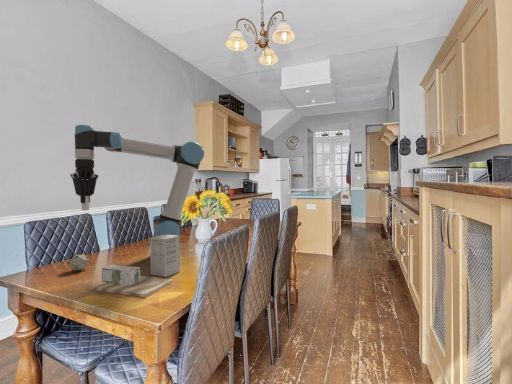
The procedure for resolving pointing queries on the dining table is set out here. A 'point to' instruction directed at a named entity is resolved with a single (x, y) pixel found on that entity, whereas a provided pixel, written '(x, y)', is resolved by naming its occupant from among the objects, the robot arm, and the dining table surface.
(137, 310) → the dining table surface
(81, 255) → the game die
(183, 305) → the dining table surface
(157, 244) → the supplement box
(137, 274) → the syrup box
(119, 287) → the cutting board
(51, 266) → the dining table surface
